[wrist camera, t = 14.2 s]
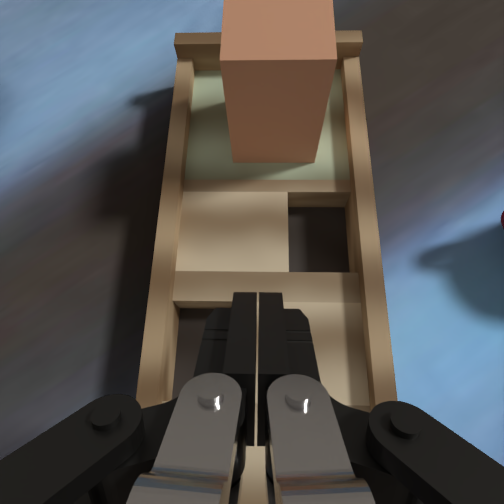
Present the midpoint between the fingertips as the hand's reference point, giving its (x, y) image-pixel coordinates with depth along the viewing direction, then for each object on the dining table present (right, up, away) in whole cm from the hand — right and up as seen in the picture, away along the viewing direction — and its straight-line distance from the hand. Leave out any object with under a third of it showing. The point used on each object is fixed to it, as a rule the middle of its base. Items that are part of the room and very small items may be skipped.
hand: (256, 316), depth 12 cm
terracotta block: (+2, +11, +17) cm, 20 cm away
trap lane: (+1, -1, +15) cm, 15 cm away
